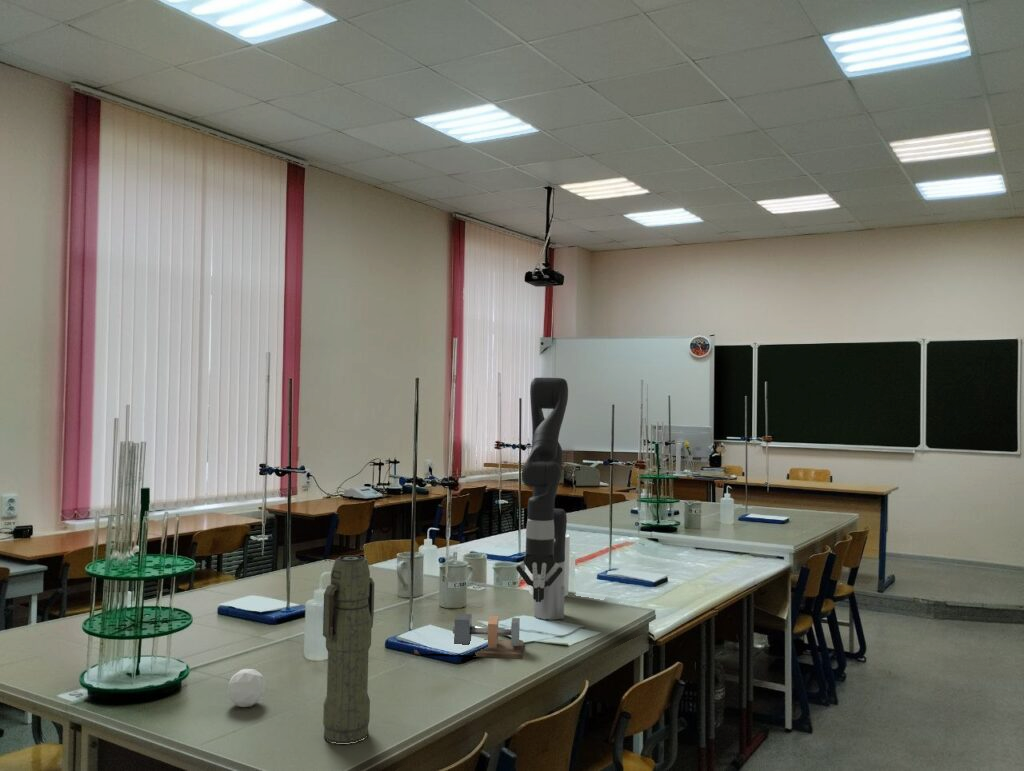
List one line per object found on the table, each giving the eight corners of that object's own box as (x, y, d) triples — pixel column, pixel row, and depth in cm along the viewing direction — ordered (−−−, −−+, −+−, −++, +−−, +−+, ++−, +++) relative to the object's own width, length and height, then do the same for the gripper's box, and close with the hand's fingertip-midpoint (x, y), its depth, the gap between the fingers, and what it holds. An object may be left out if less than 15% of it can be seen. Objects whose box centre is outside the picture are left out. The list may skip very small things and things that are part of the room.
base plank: (523, 644, 220) (523, 640, 220) (521, 658, 208) (521, 654, 208) (421, 640, 221) (421, 636, 221) (414, 654, 209) (414, 650, 209)
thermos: (307, 741, 155) (312, 559, 156) (348, 720, 166) (353, 550, 166) (342, 752, 151) (347, 565, 152) (382, 730, 161) (387, 555, 162)
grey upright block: (471, 641, 217) (471, 614, 218) (469, 648, 211) (469, 620, 212) (456, 641, 218) (457, 613, 218) (453, 648, 212) (454, 619, 212)
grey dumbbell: (519, 640, 216) (519, 618, 216) (518, 646, 211) (519, 623, 211) (454, 637, 217) (454, 615, 217) (452, 643, 212) (452, 620, 212)
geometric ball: (255, 718, 172) (273, 692, 170) (219, 711, 168) (237, 685, 166) (254, 690, 179) (272, 665, 177) (220, 682, 175) (237, 657, 173)
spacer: (498, 637, 217) (498, 616, 217) (496, 646, 211) (497, 624, 211) (489, 637, 217) (489, 615, 217) (487, 646, 212) (487, 623, 211)
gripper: (514, 537, 211) (513, 604, 210) (565, 539, 210) (563, 605, 210) (515, 533, 218) (514, 597, 218) (564, 534, 218) (563, 599, 217)
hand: (538, 601), depth 214 cm, fingers closed
